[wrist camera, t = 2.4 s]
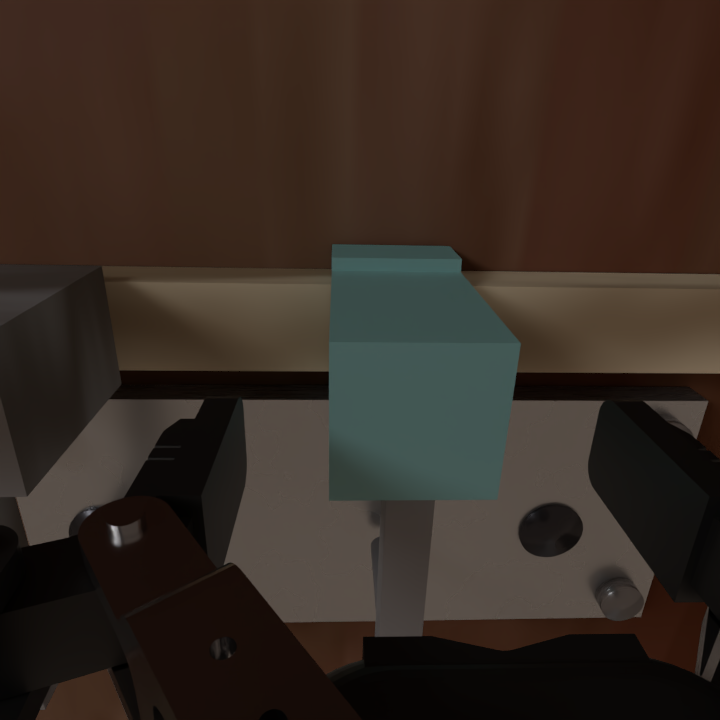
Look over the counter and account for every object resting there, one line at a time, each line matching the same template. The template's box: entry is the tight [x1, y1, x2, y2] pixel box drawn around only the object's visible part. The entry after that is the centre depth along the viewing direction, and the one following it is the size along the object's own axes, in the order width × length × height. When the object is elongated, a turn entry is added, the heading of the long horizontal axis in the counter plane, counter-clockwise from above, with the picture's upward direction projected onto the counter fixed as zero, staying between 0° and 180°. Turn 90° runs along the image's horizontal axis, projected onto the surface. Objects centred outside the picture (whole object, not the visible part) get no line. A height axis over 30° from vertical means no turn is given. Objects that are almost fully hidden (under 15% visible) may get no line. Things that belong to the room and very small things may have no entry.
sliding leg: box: [329, 244, 521, 637], centre depth 17 cm, size 12×4×8 cm, turn 179°
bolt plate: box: [16, 385, 708, 622], centre depth 22 cm, size 11×26×2 cm, turn 89°
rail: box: [0, 264, 720, 710], centre depth 17 cm, size 12×28×8 cm, turn 89°
